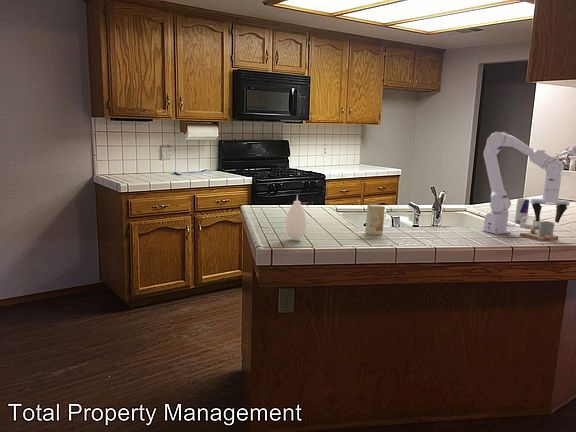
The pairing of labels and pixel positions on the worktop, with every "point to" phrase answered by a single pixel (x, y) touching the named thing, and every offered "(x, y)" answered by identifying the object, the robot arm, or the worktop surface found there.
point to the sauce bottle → (296, 221)
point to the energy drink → (521, 209)
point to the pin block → (534, 235)
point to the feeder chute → (529, 222)
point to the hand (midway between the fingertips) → (547, 221)
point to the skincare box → (375, 219)
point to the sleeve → (546, 229)
